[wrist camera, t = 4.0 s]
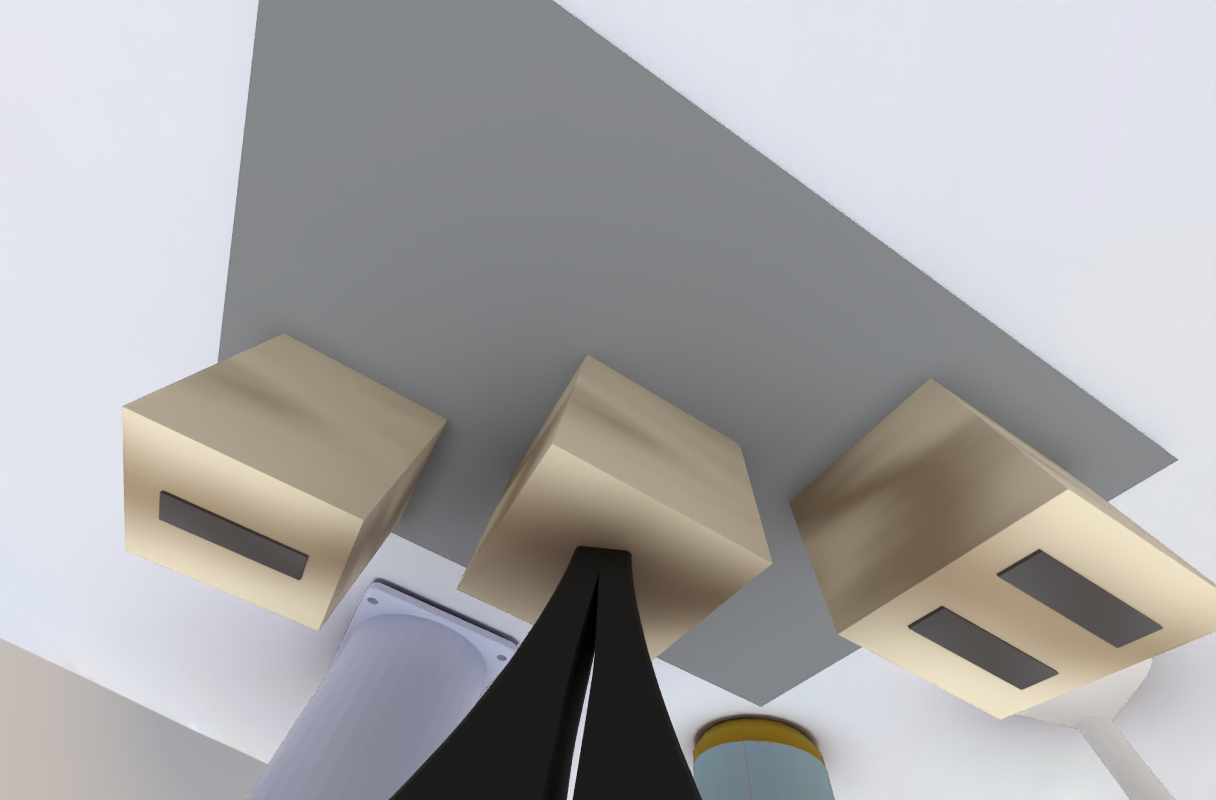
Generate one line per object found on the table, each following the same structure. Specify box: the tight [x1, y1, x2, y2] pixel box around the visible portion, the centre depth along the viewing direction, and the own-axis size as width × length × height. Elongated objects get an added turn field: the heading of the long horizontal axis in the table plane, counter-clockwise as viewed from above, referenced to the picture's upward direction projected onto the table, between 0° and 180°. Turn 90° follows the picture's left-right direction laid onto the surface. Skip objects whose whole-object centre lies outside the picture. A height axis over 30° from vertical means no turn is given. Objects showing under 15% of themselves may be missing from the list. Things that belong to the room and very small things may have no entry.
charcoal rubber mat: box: [218, 0, 1178, 706], centre depth 15 cm, size 19×28×1 cm
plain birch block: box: [457, 354, 772, 661], centre depth 13 cm, size 6×6×5 cm
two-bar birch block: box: [789, 378, 1216, 720], centre depth 12 cm, size 6×6×5 cm
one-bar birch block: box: [122, 333, 447, 631], centre depth 14 cm, size 6×6×5 cm
